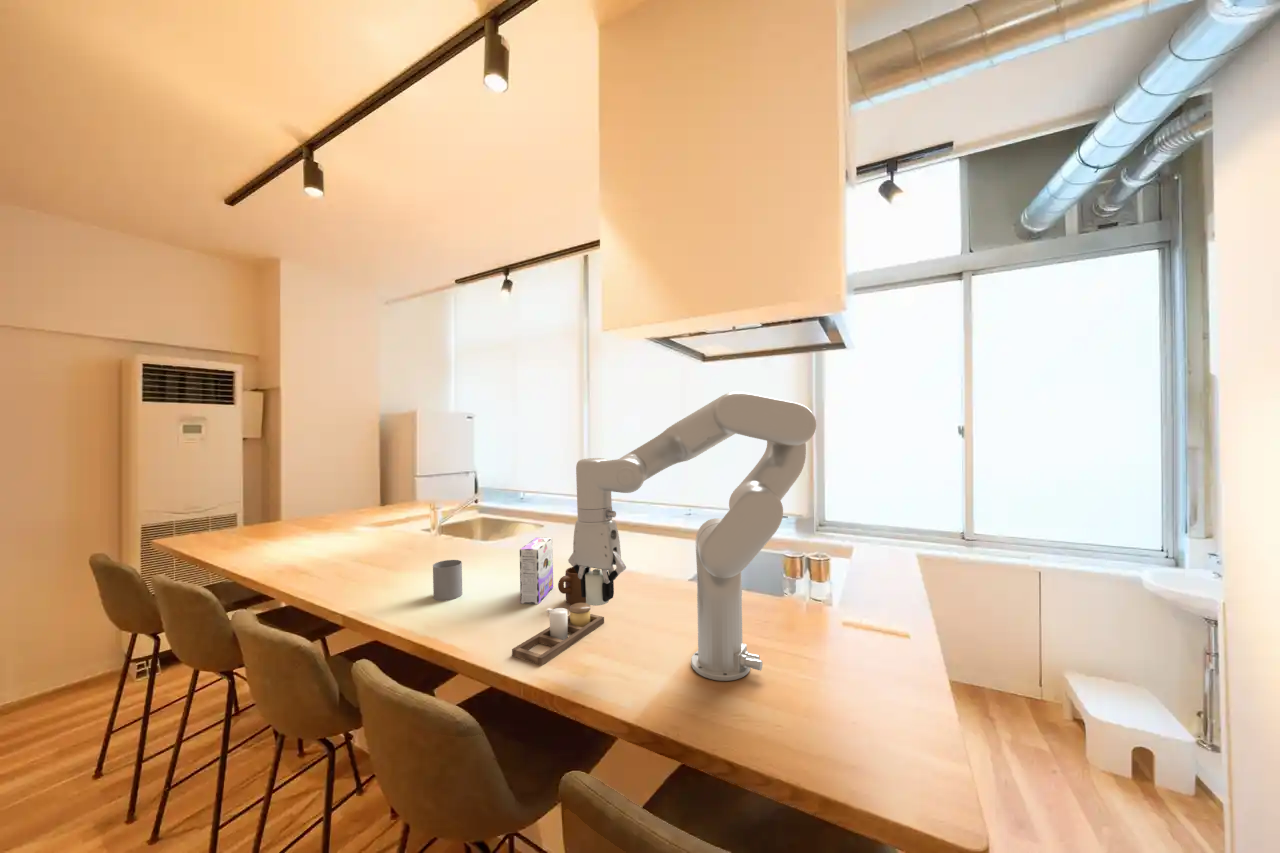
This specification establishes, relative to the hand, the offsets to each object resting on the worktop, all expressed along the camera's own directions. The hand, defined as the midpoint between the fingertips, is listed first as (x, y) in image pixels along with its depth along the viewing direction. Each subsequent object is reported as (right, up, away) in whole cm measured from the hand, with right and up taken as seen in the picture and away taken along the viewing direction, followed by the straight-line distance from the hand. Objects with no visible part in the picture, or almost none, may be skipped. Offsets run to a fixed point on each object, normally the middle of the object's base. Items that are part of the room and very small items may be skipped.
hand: (597, 596), depth 102 cm
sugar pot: (0, -1, 0) cm, 1 cm away
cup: (-50, -16, +43) cm, 68 cm away
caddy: (-10, -15, +13) cm, 22 cm away
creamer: (-11, -15, +13) cm, 23 cm away
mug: (-10, -15, +35) cm, 39 cm away
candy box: (-22, -15, +42) cm, 50 cm away
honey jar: (-6, -15, +19) cm, 25 cm away
